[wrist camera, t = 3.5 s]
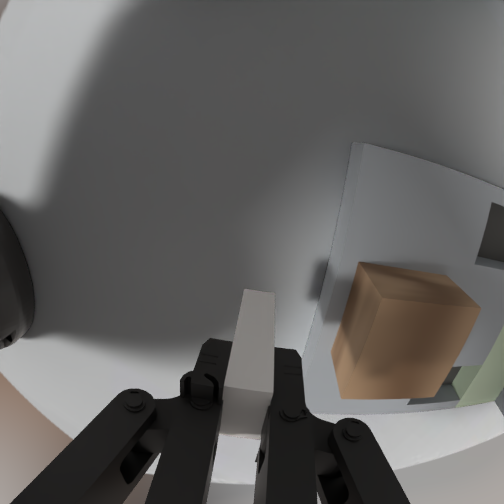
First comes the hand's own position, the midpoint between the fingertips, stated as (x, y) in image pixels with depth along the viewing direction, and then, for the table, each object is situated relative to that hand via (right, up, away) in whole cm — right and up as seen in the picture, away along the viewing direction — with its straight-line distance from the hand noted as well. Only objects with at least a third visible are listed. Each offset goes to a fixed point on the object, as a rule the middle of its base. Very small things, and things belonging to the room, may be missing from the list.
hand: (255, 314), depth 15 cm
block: (+8, -1, +1) cm, 8 cm away
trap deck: (+15, -1, +3) cm, 15 cm away
